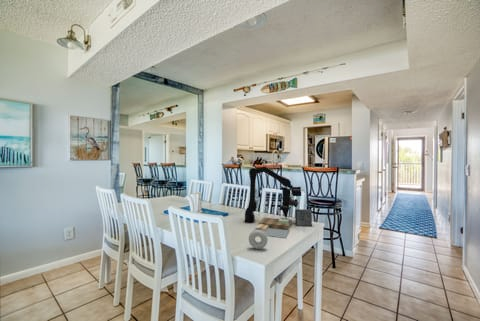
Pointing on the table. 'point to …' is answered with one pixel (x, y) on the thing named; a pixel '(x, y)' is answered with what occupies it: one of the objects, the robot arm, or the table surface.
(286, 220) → the sage tile
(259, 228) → the maple tile
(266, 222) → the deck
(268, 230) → the mat
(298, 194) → the robot arm
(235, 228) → the table surface
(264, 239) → the donut
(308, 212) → the small box
